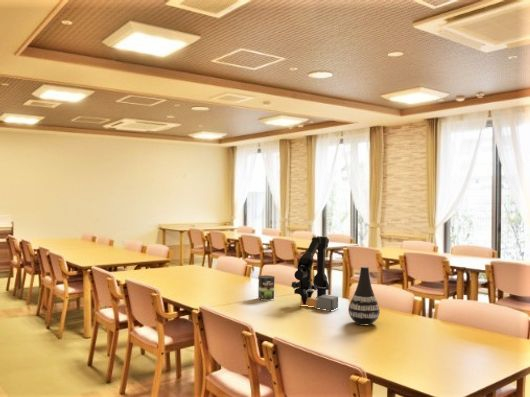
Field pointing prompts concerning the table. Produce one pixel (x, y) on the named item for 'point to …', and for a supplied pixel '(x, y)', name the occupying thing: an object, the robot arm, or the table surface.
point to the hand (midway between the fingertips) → (305, 303)
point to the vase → (364, 301)
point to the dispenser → (327, 302)
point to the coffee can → (266, 287)
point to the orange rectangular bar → (310, 302)
